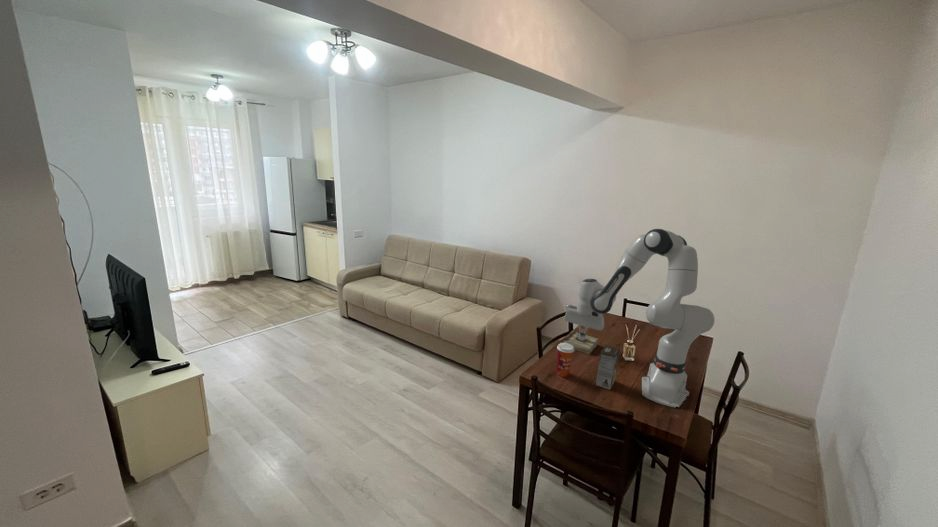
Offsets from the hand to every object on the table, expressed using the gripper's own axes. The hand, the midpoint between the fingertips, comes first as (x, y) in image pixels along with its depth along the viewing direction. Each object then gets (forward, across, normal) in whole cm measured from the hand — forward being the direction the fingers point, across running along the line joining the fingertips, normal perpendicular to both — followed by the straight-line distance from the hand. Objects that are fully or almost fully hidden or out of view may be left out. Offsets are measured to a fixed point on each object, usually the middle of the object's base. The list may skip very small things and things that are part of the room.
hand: (582, 333), depth 198 cm
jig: (+7, 0, 0) cm, 7 cm away
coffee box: (+8, +21, -29) cm, 37 cm away
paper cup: (+8, +3, -34) cm, 35 cm away
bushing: (+7, 0, 0) cm, 7 cm away
